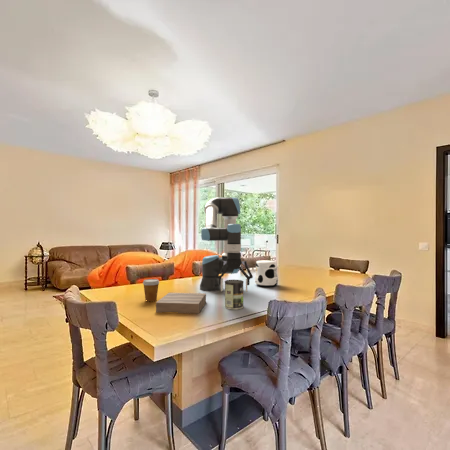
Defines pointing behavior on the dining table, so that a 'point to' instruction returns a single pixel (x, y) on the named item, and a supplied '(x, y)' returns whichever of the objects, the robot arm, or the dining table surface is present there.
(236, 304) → the coffee can
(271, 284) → the milk container
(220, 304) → the dining table surface
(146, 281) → the disposable coffee cup
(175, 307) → the walnut plinth
